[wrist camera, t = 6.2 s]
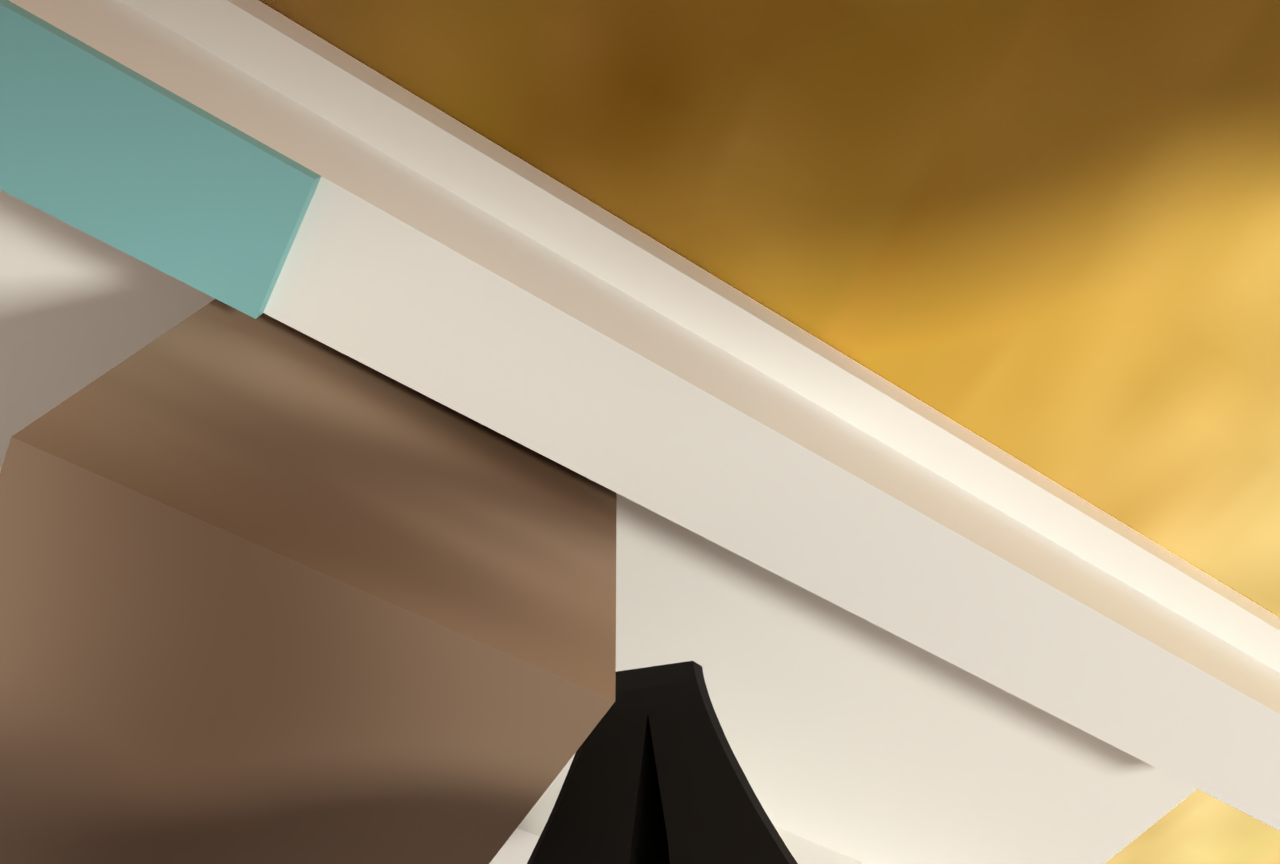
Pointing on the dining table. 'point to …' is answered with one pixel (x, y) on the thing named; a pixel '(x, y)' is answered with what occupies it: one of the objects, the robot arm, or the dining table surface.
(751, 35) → the dining table surface
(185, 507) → the walnut block
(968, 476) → the chute
